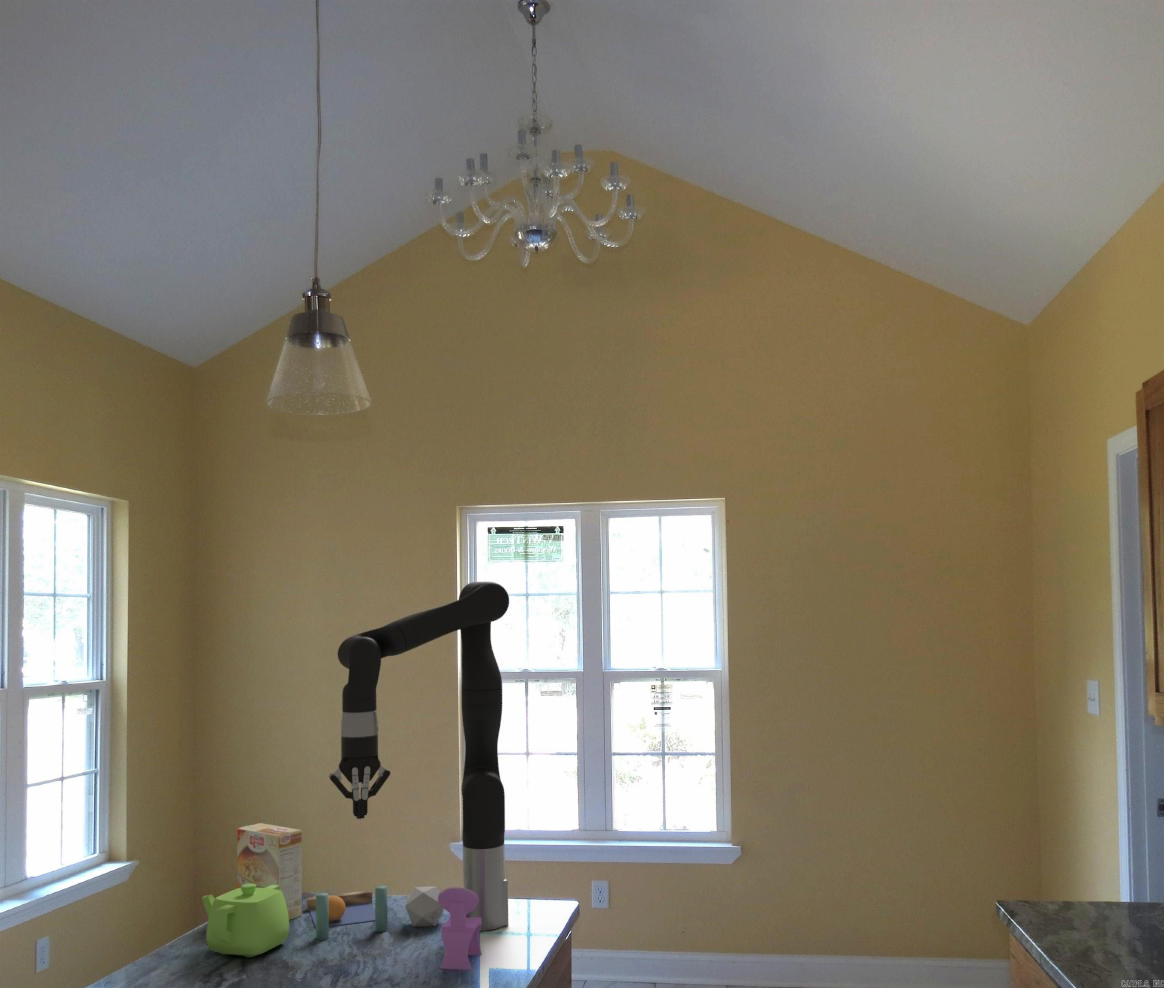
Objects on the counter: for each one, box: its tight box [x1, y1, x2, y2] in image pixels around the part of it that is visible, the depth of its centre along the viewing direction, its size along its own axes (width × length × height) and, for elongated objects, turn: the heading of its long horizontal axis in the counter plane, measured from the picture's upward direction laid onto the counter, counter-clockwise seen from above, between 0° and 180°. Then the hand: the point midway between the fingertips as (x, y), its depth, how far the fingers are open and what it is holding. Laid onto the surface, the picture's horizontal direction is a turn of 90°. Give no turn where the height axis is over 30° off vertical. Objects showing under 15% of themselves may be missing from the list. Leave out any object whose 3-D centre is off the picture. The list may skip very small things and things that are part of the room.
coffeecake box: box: [236, 822, 303, 921], centre depth 239 cm, size 15×7×20 cm, turn 55°
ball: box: [329, 896, 345, 922], centre depth 232 cm, size 6×6×6 cm
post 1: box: [315, 892, 330, 941], centre depth 221 cm, size 3×3×9 cm
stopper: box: [306, 889, 373, 912], centre depth 244 cm, size 15×2×2 cm, turn 110°
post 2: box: [374, 885, 388, 933], centre depth 226 cm, size 3×3×9 cm
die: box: [404, 886, 445, 928], centre depth 229 cm, size 8×9×10 cm
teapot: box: [201, 883, 290, 958], centre depth 217 cm, size 18×20×13 cm
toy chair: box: [438, 886, 483, 971], centre depth 206 cm, size 8×9×15 cm
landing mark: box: [309, 902, 375, 929], centre depth 236 cm, size 14×14×1 cm
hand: (360, 818), depth 213 cm, fingers closed
